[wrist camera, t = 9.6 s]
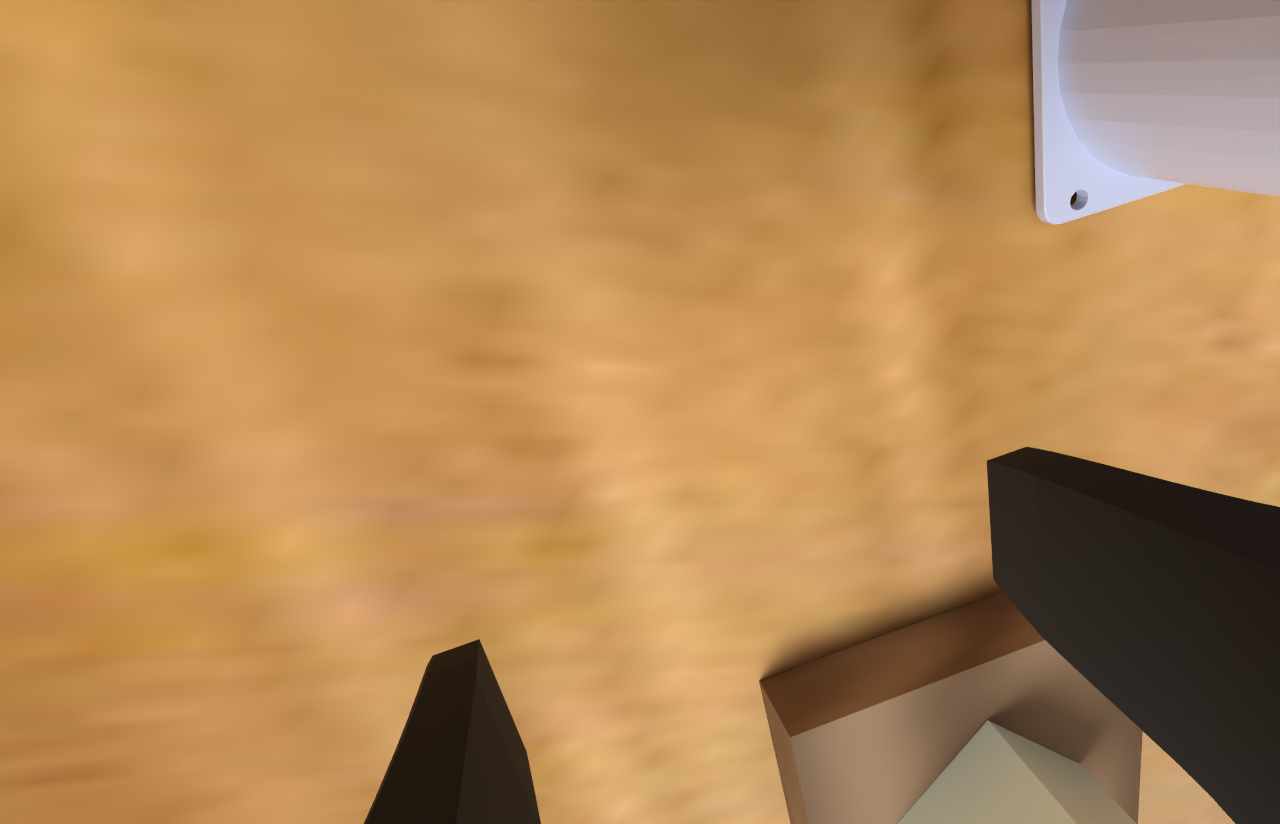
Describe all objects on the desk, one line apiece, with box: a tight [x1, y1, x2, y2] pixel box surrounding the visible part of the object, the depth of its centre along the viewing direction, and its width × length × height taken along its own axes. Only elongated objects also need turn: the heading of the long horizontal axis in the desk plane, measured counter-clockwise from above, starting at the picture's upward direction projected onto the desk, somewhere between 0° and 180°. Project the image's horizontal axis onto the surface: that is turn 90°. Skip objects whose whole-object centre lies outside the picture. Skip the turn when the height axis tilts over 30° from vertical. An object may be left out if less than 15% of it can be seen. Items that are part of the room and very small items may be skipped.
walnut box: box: [759, 591, 1142, 824], centre depth 28 cm, size 12×12×3 cm
